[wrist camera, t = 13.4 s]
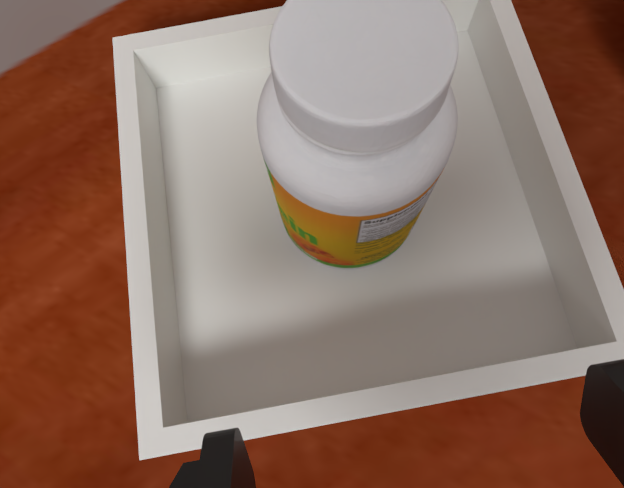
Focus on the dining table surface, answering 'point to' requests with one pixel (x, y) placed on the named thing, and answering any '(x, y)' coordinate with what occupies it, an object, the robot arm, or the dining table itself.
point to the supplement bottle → (357, 122)
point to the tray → (336, 282)
